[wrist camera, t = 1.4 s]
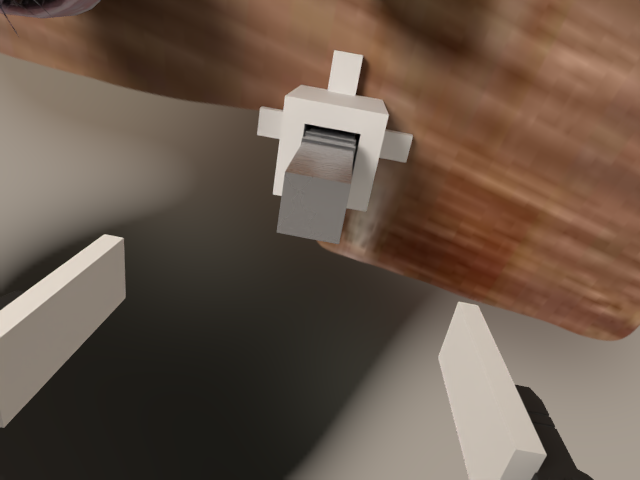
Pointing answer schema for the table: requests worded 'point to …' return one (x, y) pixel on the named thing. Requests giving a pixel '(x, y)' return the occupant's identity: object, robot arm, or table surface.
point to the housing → (336, 126)
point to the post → (318, 185)
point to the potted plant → (45, 7)
